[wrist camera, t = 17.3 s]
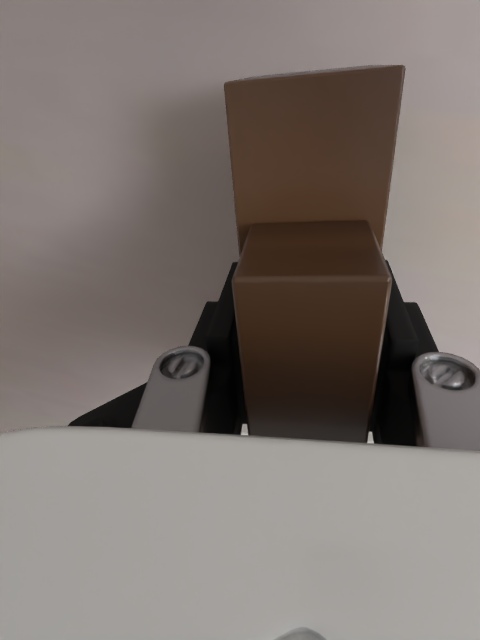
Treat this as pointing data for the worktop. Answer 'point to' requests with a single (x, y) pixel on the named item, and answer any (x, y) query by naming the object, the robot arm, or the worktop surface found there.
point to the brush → (312, 245)
